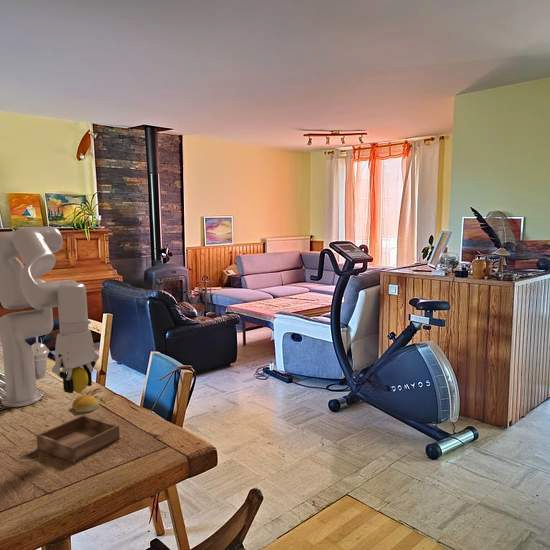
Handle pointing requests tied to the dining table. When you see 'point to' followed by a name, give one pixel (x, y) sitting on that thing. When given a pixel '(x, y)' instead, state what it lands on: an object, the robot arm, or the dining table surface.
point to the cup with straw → (40, 358)
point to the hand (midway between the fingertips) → (78, 388)
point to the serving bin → (78, 438)
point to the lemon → (79, 379)
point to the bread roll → (85, 403)
